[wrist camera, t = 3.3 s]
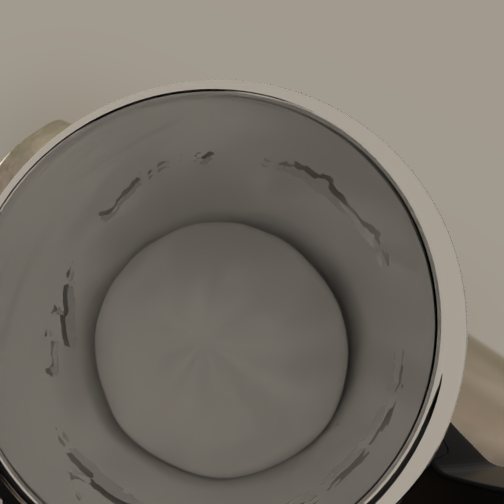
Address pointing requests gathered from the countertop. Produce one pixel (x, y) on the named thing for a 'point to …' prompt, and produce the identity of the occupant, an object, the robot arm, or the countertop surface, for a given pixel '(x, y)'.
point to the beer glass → (223, 307)
